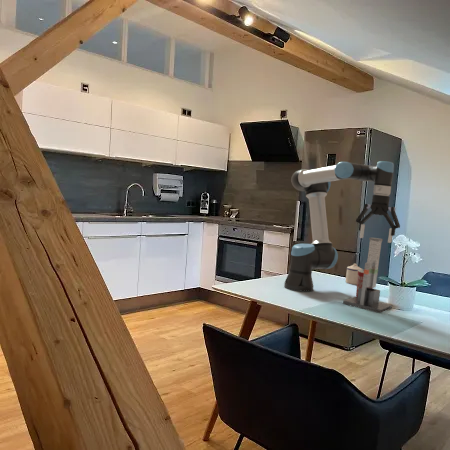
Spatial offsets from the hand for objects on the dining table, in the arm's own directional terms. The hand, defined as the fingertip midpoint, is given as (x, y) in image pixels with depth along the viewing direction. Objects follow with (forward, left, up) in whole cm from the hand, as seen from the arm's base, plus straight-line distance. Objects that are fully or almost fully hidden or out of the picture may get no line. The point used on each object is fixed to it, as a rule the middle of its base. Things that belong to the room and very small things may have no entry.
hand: (375, 240), depth 214 cm
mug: (-10, +18, -32) cm, 37 cm away
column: (0, 0, -22) cm, 22 cm away
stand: (0, 0, -31) cm, 31 cm away
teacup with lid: (-30, +50, -32) cm, 66 cm away
